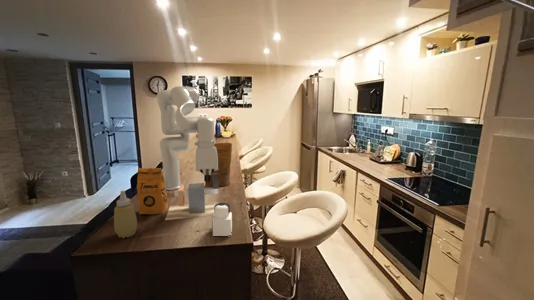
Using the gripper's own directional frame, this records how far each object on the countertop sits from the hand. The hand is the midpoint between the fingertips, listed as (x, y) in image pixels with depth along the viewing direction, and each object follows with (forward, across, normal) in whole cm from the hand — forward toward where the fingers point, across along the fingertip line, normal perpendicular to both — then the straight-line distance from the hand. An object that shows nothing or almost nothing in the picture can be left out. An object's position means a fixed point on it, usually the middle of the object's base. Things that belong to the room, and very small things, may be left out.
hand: (207, 182), depth 117 cm
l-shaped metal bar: (+6, -5, 0) cm, 8 cm away
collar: (+9, -12, 0) cm, 15 cm away
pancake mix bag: (+15, +6, +38) cm, 41 cm away
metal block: (+13, -5, 0) cm, 14 cm away
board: (+14, -7, 0) cm, 16 cm away
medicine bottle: (+15, +5, -23) cm, 28 cm away
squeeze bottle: (+15, -32, -16) cm, 38 cm away
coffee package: (+15, -25, +4) cm, 30 cm away
